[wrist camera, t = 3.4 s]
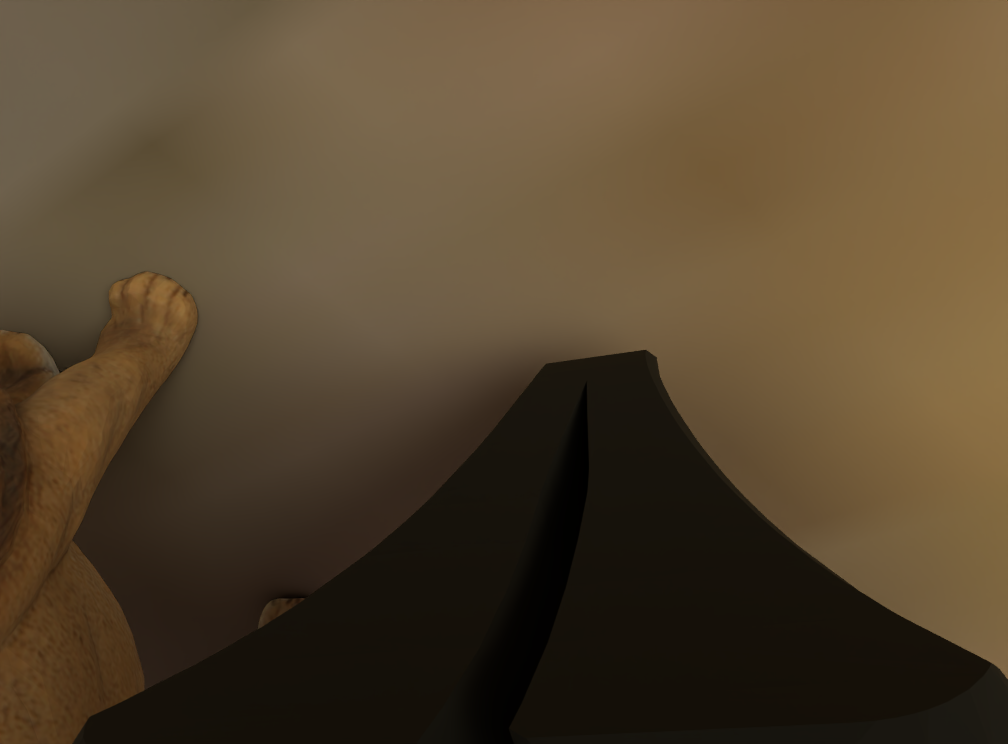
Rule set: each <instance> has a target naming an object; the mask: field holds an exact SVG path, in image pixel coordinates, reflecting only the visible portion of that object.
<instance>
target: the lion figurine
mask: <svg viewBox="0 0 1008 744" xmlns="http://www.w3.org/2000/svg"><path fill="white" fill-rule="evenodd" d="M109 303H110V307H111V311H112V318H111V319H110V321H109V322H108V323H107V325H106V326H105V327H104V329H103V330H102V331H101V334H100V337H99V340H98V343H97V347H96V350H95V353H94V354H93V356H92V357H91V358H89V359H87V360H85V361H82V362H80V363H77V364H75V365H73V366H71V367H69V368H68V369H66V370H64V371H63V372H61V373H59V370H58V368H57V366H56V364H55V362H54V359H53V358H52V357H51V355H50V354H49V353H48V351H47V350H46V349H45V347H44V346H42V345H41V344H40V343H39V342H38V341H36V340H35V339H34V338H33V337H31V336H30V335H29V334H25V333H17V332H11V331H5V330H0V744H72V743H73V742H74V740H75V738H76V737H77V735H78V734H79V732H80V731H81V729H82V728H83V726H84V724H85V723H86V721H87V720H88V718H89V717H90V716H92V715H94V714H96V713H99V712H101V711H103V710H105V709H107V708H109V707H112V706H114V705H116V704H118V703H120V702H122V701H124V700H126V699H128V698H130V697H132V696H134V695H136V694H138V693H140V692H142V691H144V675H143V671H142V667H141V664H140V660H139V656H138V653H137V649H136V645H135V642H134V638H133V634H132V632H131V630H130V627H129V625H128V623H127V620H126V618H125V616H124V613H123V611H122V609H121V607H120V605H119V603H118V602H117V600H116V599H115V597H114V595H113V594H112V592H111V591H110V589H109V588H108V586H107V585H106V583H105V582H104V581H103V579H102V578H101V576H100V575H99V573H98V572H97V571H96V569H95V568H94V566H93V565H92V564H91V562H90V561H89V560H88V559H87V558H86V557H85V555H84V554H83V553H82V552H81V550H80V549H79V547H78V546H77V545H76V544H75V543H74V542H73V541H72V539H73V537H74V536H75V534H76V532H77V530H78V528H79V526H80V524H81V523H82V520H83V518H84V515H85V513H86V510H87V508H88V506H89V503H90V501H91V498H92V496H93V494H94V492H95V490H96V488H97V486H98V484H99V482H100V480H101V478H102V476H103V474H104V472H105V470H106V469H107V467H108V465H109V463H110V462H111V460H112V459H113V457H114V456H115V454H116V453H117V451H118V450H119V448H120V446H121V445H122V443H123V441H124V439H125V438H126V436H127V434H128V432H129V431H130V429H131V428H132V426H133V425H134V423H135V422H136V420H137V419H138V417H139V416H140V414H141V413H142V411H143V410H144V408H145V407H146V405H147V404H148V403H149V401H150V400H151V399H152V397H153V396H154V394H155V393H156V392H157V390H158V389H159V387H160V386H161V385H162V384H163V383H164V382H165V381H166V379H167V378H168V377H169V375H170V374H171V372H172V371H173V370H174V368H175V367H176V365H177V364H178V362H179V361H180V359H181V357H182V356H183V354H184V352H185V350H186V349H187V347H188V344H189V342H190V340H191V338H192V336H193V334H194V332H195V328H196V325H197V318H198V315H197V308H196V305H195V302H194V300H193V298H192V296H191V294H190V293H188V292H187V291H186V290H185V289H184V288H182V287H181V286H180V285H179V284H178V283H176V282H175V281H174V280H172V279H171V278H168V277H166V276H163V275H160V274H156V273H151V272H147V271H146V272H142V273H139V274H137V275H135V276H133V277H131V278H129V279H125V280H121V281H118V282H116V283H114V284H113V285H112V287H111V289H110V291H109ZM303 600H304V598H296V599H274V600H272V601H270V602H269V603H268V604H267V605H266V607H265V608H264V610H263V612H262V614H261V617H260V620H259V625H258V629H259V628H261V627H262V626H264V625H265V624H267V623H269V622H270V621H272V620H273V619H275V618H276V617H278V616H280V615H281V614H283V613H284V612H286V611H288V610H289V609H291V608H292V607H294V606H295V605H297V604H298V603H300V602H301V601H303Z"/></svg>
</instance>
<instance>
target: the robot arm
mask: <svg viewBox="0 0 1008 744" xmlns="http://www.w3.org/2000/svg"><path fill="white" fill-rule="evenodd" d="M72 744H1008V679H1007V678H1006V677H1005V675H1004V674H1003V673H1002V672H1001V670H1000V669H999V668H998V667H996V666H995V665H994V664H992V663H990V662H989V661H987V660H985V659H983V658H981V657H979V656H977V655H975V654H973V653H971V652H969V651H967V650H965V649H963V648H961V647H959V646H957V645H956V644H954V643H952V642H950V641H948V640H946V639H944V638H942V637H940V636H938V635H936V634H934V633H932V632H930V631H928V630H926V629H924V628H922V627H921V626H919V625H917V624H915V623H913V622H911V621H909V620H907V619H905V618H903V617H901V616H899V615H897V614H896V613H894V612H892V611H891V610H889V609H887V608H886V607H884V606H882V605H881V604H879V603H878V602H876V601H874V600H873V599H871V598H870V597H868V596H866V595H865V594H863V593H862V592H860V591H858V590H857V589H856V588H854V587H853V586H852V585H850V584H849V583H848V582H846V581H845V580H844V579H842V578H841V577H839V576H838V575H837V574H835V573H834V572H833V571H831V570H830V569H829V568H827V567H826V566H825V565H823V564H822V563H821V562H819V561H818V560H817V559H815V558H814V557H812V556H811V555H810V554H808V553H807V552H806V551H804V550H803V549H802V548H800V547H799V546H798V545H797V544H795V543H794V542H793V541H792V540H791V539H790V538H788V537H787V536H786V535H785V534H784V533H783V532H782V531H780V530H779V529H778V528H777V527H776V526H775V525H774V524H773V523H771V522H770V521H769V520H768V519H767V518H766V517H765V516H764V515H763V514H762V513H761V512H760V511H759V510H758V509H757V508H756V507H755V506H754V505H752V504H751V503H750V502H749V501H748V500H747V499H746V498H745V497H744V496H743V495H742V493H741V492H740V491H739V490H738V489H737V488H736V487H735V486H734V485H733V484H732V483H731V482H730V480H729V479H728V478H727V477H726V476H725V475H724V474H723V472H722V471H721V470H720V469H719V468H718V466H717V465H716V464H715V463H714V461H713V460H712V459H711V458H710V457H709V455H708V454H707V453H706V452H705V450H704V449H703V448H702V446H701V445H700V444H699V442H698V441H697V440H696V438H695V437H694V435H693V434H692V432H691V431H690V429H689V428H688V426H687V425H686V423H685V422H684V420H683V419H682V417H681V416H680V414H679V413H678V411H677V409H676V408H675V406H674V404H673V403H672V401H671V399H670V397H669V395H668V393H667V391H666V389H665V387H664V385H663V383H662V380H661V378H660V375H659V369H658V363H657V357H655V356H654V355H652V354H651V353H650V352H648V351H647V350H641V351H634V352H627V353H620V354H613V355H606V356H599V357H592V358H584V359H577V360H570V361H563V362H556V363H549V364H546V365H545V366H544V367H543V368H542V369H541V370H540V372H539V373H538V374H537V375H536V377H535V378H534V379H533V381H532V382H531V383H530V384H529V386H528V387H527V388H526V389H525V391H524V392H523V393H522V394H521V396H520V397H519V398H518V399H517V401H516V402H515V403H514V405H513V406H512V407H511V408H510V410H509V411H508V412H507V413H506V415H505V416H504V417H503V418H502V420H501V421H500V422H499V423H498V425H497V426H496V427H495V428H494V429H493V431H492V432H491V433H490V434H489V435H488V437H487V438H486V439H485V440H484V441H483V443H482V444H481V445H480V446H479V447H478V448H477V450H476V451H475V452H474V453H473V454H472V455H471V456H470V457H469V458H468V459H467V460H466V461H465V462H464V463H463V464H462V466H461V467H460V468H459V469H458V470H457V471H456V472H455V473H454V474H453V475H452V476H451V477H450V478H449V479H448V480H447V482H446V483H445V484H444V485H443V486H442V487H441V488H440V489H439V490H438V491H437V492H436V493H435V494H434V495H433V496H432V497H431V498H430V499H429V500H428V501H427V502H426V503H425V504H424V505H423V506H422V507H421V508H420V509H419V510H418V511H416V512H415V513H414V514H413V515H412V516H411V517H410V518H409V519H408V520H407V521H406V522H404V523H403V524H402V525H401V526H400V527H399V528H397V529H396V530H395V531H394V532H393V533H392V534H390V535H389V536H388V537H387V538H386V539H385V540H383V541H382V542H381V543H380V544H379V545H377V546H376V547H375V548H374V549H373V550H371V551H370V552H369V553H368V554H366V555H365V556H364V557H362V558H361V559H360V560H358V561H357V562H355V563H354V564H353V565H351V566H350V567H349V568H347V569H346V570H344V571H343V572H342V573H340V574H339V575H338V576H336V577H335V578H333V579H332V580H331V581H329V582H328V583H326V584H325V585H324V586H322V587H321V588H320V589H318V590H317V591H315V592H314V593H313V594H311V595H310V596H309V597H307V598H306V599H304V600H303V601H301V602H300V603H298V604H297V605H295V606H294V607H292V608H291V609H289V610H288V611H286V612H284V613H283V614H281V615H280V616H278V617H276V618H275V619H273V620H272V621H270V622H269V623H267V624H265V625H264V626H262V627H261V628H259V629H257V630H256V631H254V632H252V633H250V634H249V635H247V636H245V637H244V638H242V639H240V640H238V641H237V642H235V643H233V644H232V645H230V646H228V647H226V648H225V649H223V650H221V651H220V652H218V653H216V654H214V655H212V656H210V657H209V658H207V659H205V660H203V661H201V662H199V663H198V664H196V665H194V666H192V667H190V668H188V669H186V670H184V671H182V672H180V673H178V674H176V675H174V676H172V677H170V678H168V679H166V680H164V681H162V682H160V683H158V684H156V685H154V686H152V687H150V688H148V689H146V690H144V691H142V692H140V693H138V694H136V695H134V696H132V697H130V698H128V699H126V700H124V701H122V702H120V703H118V704H116V705H114V706H112V707H109V708H107V709H105V710H103V711H101V712H99V713H96V714H94V715H92V716H90V717H89V718H88V720H87V721H86V723H85V724H84V726H83V728H82V729H81V731H80V732H79V734H78V735H77V737H76V738H75V740H74V742H73V743H72Z"/></svg>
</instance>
